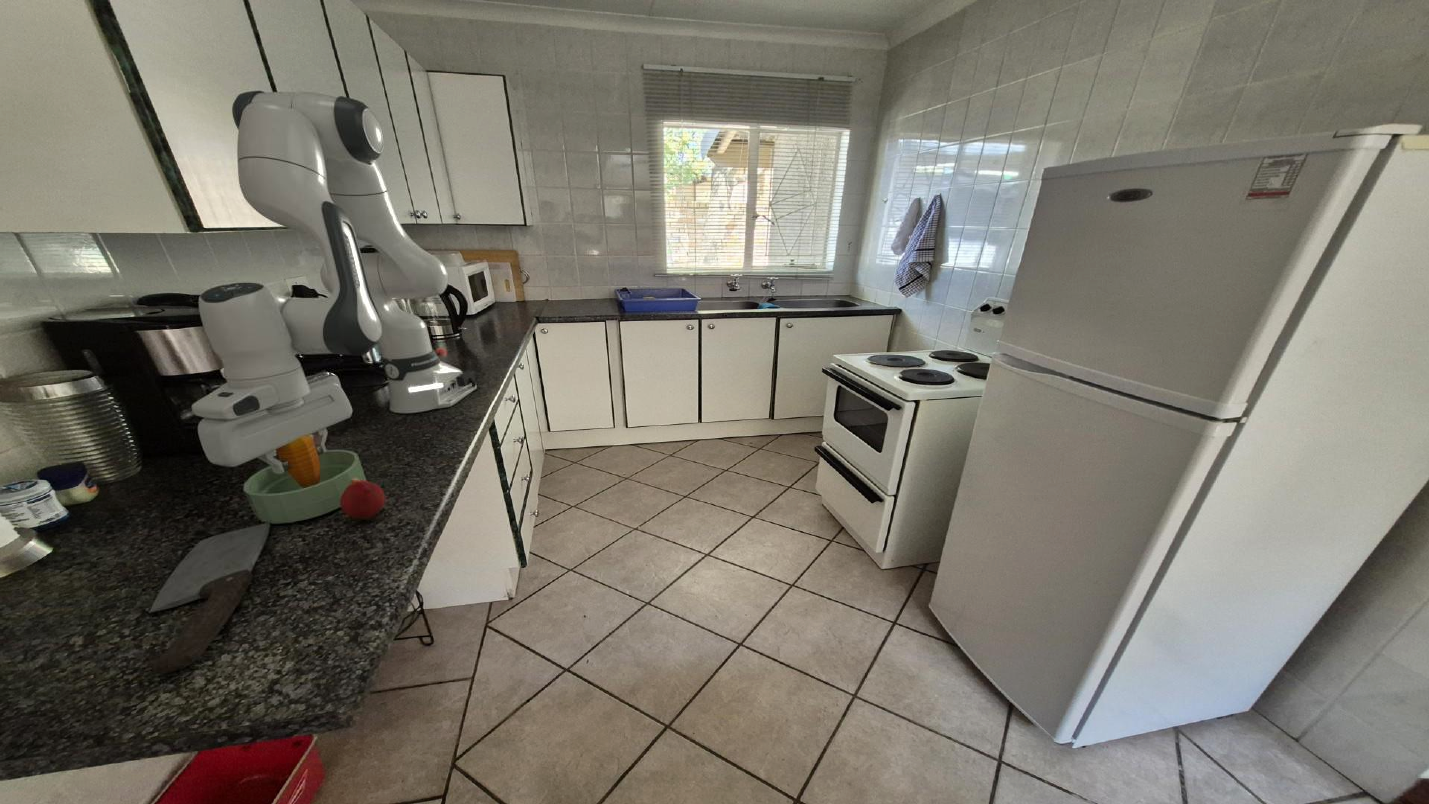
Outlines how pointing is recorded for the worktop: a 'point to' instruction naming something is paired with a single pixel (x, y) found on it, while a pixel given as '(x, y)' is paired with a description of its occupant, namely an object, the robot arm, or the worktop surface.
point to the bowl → (302, 489)
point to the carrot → (302, 461)
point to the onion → (362, 499)
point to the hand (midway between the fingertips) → (301, 462)
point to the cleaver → (208, 590)
